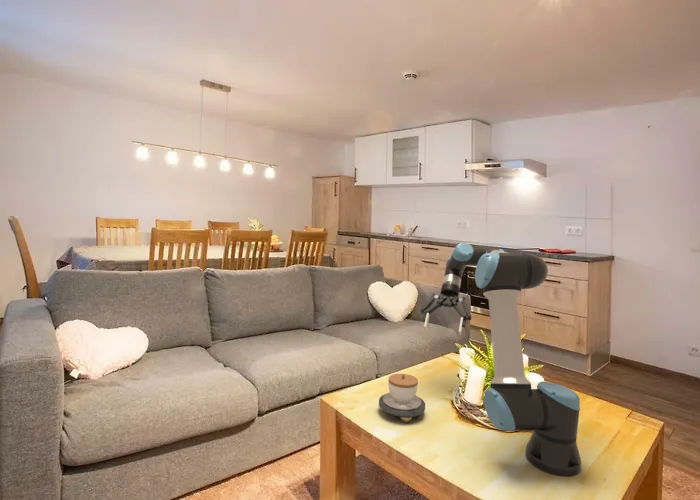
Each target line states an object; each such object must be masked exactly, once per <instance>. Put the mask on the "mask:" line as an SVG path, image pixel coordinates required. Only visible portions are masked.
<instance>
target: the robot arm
mask: <svg viewBox="0 0 700 500" xmlns="http://www.w3.org/2000/svg"><path fill="white" fill-rule="evenodd" d="M467 266H469V267H475V272H474V273H475V274H474V282H475V285H476V287H477V288H479V289H482V294H483V296H484V297H485V298H486V299H487V300H488V309H489V310H488V311H489V322H490V332H491V334H490V335H491V344H492V357H493V358H492V359H493V368H494V369H493V370H494V371H493V372H494V377H493V378H492V380H491V381H490V387H489V388H487V389H486V390H485V391H484V396H483V397H484V398H483V401H484V408H485V412H486V414H487V418H488V419H489V421H490V423H491V424H492V425H493V427H494V428H496V429H498V430H501V431H510V432H514V431H532V434H531V436H530V438H529V440H528V442H527V444H526V447H525V458H526V459H527V461H529V463H530V464H531V465H532V466H534V467H535V468H537V469H539V470H541V471H543V472H544V473H548V474H552V475H554V474H555V476H560V477H572V476H576V475H578V474H579V473H580V472H581V470H580V469H581V468H582V460H581V456H580V452H579V447H578V445H577V444H578V443H577V439H578V438H577V437H578V427H579V416H580V411H581V407H580V405H581V404H580V403H581V400H580V397H579V395H578V393H577V392H575V391H574V390H572V389H571V388H569V387H567V386H564V385H562V384H558V383H556V382H552V381H540V382H537V385H536V388H532V383H531V381H530V380H528V378H527V377H526V375H525V367H524V356H523V355H524V354H523V346H522V345H523V344H522V336H521V334H522V333H521V328H520V327H521V325H520V316H519V305H518V297H519V296H520V295H521V294H522V290H529V289H530V290H531V289H534V288H537V287H538V286H540V285H541V284H543V283H544V282H545V281H546V279H547V277H548V274H549V273H548V271H549V270H548V265H547V263H546V262H545V260H544V259H543V258H541V257H540V256H538V255H535V254H531V253H516V252H515V253H513V252H511V253H510V252H507V251H505V250H504V249H500V248H479V247H473V245H471V244H468V243H466V242H460V243H458V244H456V245H455V247H454V249H453V250H452V253H451V256H449V257H448V258H447V261H446V264H445V270H444V275H443V279H442V284H441V289H440V294H439V295H437V294H435V293H432V294H431V296H430V298H429V299H428V300H427V302H425V303H424V305H423V306H422V307H421V308H420V313H421V314H422V315H423V318H422V321H423V323H424V324H423V328H424V330H425V331H427V330H428V326H429V321H430V316H431V315H430V314H432V313H433V312H435V311H436V310H438V309H439V308H441V307H444V308H445V307H446V308H452V307H453V309H454V310H455V311H456V312H457V313H458V315H459V316H460V321H459V325H458V326H459V327H458V336H462V332H463V331H462V330H463V328H466V324H467V321H472V315H471V311H470V310H469V307H468V304H467V302H466V297H465V296H463V297H459V296H460V288H461V286H462V283H461V282H462V279H463V278H462V277H463V273H464V271H465V269H466V268H467ZM434 302H435V303H434ZM459 302H460V304H461V305H462V307H463V309H464V311H463V310H462V309H461V307H460V306H459V305H458V303H459ZM464 312H465V313H464Z"/></svg>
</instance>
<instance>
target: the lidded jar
mask: <svg viewBox="0 0 700 500" xmlns="http://www.w3.org/2000/svg"><path fill="white" fill-rule="evenodd" d="M387 379H388V391H389V392H390V394H391V396H392V397H393V398H394V400H395V401H397V402H400V403H408V402H410V400H411V399H413V398H414V396H415V395H417V390H418V384H419V383H418V382H419V380H418V378H417V377H415V375H412V374H407V373H394V374H391V375H390V376H388V378H387ZM389 392H388V393H389Z"/></svg>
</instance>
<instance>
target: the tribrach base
mask: <svg viewBox="0 0 700 500" xmlns="http://www.w3.org/2000/svg"><path fill="white" fill-rule="evenodd" d="M378 407H379V409H380V410H381V411H382V412H384V413H385V414H388V415H390V416H393V417H394V416H395V417H399V421H400V422H401V423H403V424H411V423H412V418H414V417H419V416H421V415H422V414H423V413H424V412H425V411H426V402H425V400H424V399H423V398H421V397H420V396H418V395H417V394H415V396H414V398H413V399H411V400H410V402H408V403H400V402H397V401H395V400H394V398H393V397H392V396H391V394H390V392H387V393H384V394H382V395H381V396H380V397H379V399H378Z"/></svg>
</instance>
